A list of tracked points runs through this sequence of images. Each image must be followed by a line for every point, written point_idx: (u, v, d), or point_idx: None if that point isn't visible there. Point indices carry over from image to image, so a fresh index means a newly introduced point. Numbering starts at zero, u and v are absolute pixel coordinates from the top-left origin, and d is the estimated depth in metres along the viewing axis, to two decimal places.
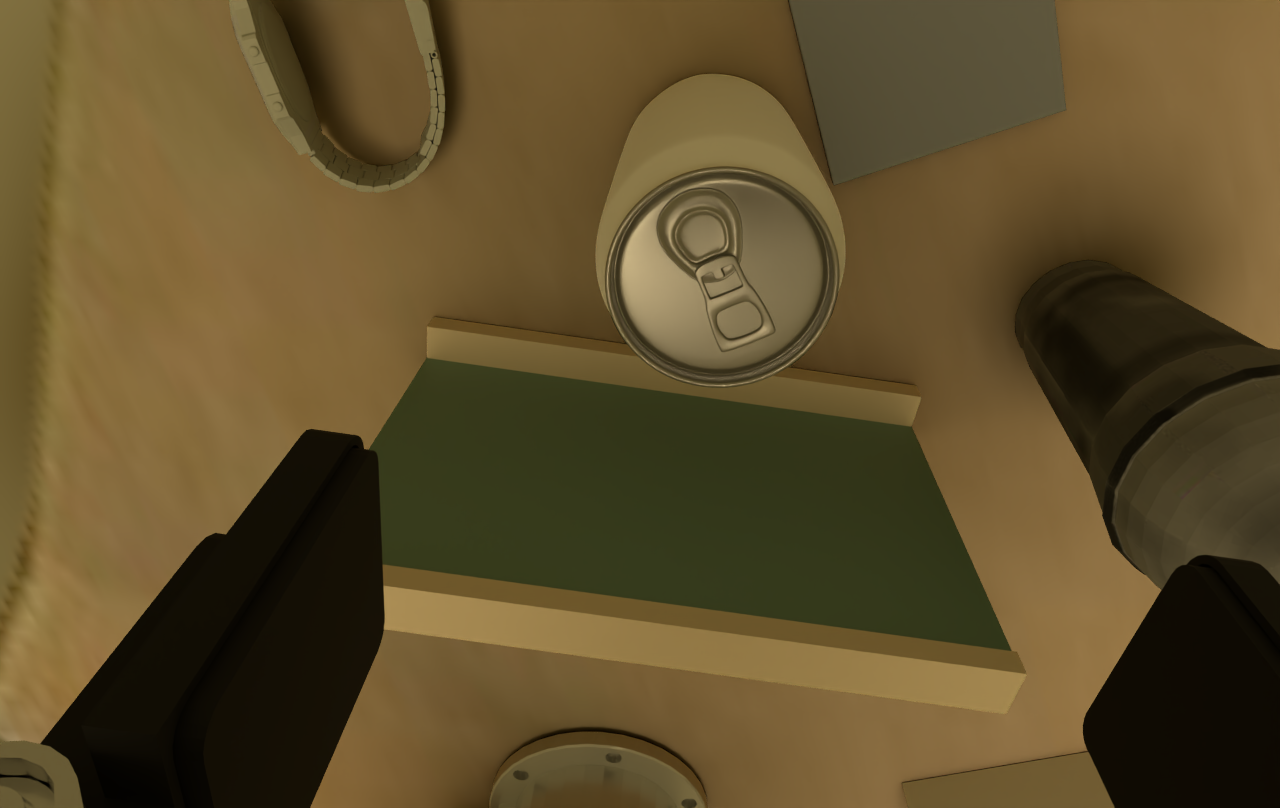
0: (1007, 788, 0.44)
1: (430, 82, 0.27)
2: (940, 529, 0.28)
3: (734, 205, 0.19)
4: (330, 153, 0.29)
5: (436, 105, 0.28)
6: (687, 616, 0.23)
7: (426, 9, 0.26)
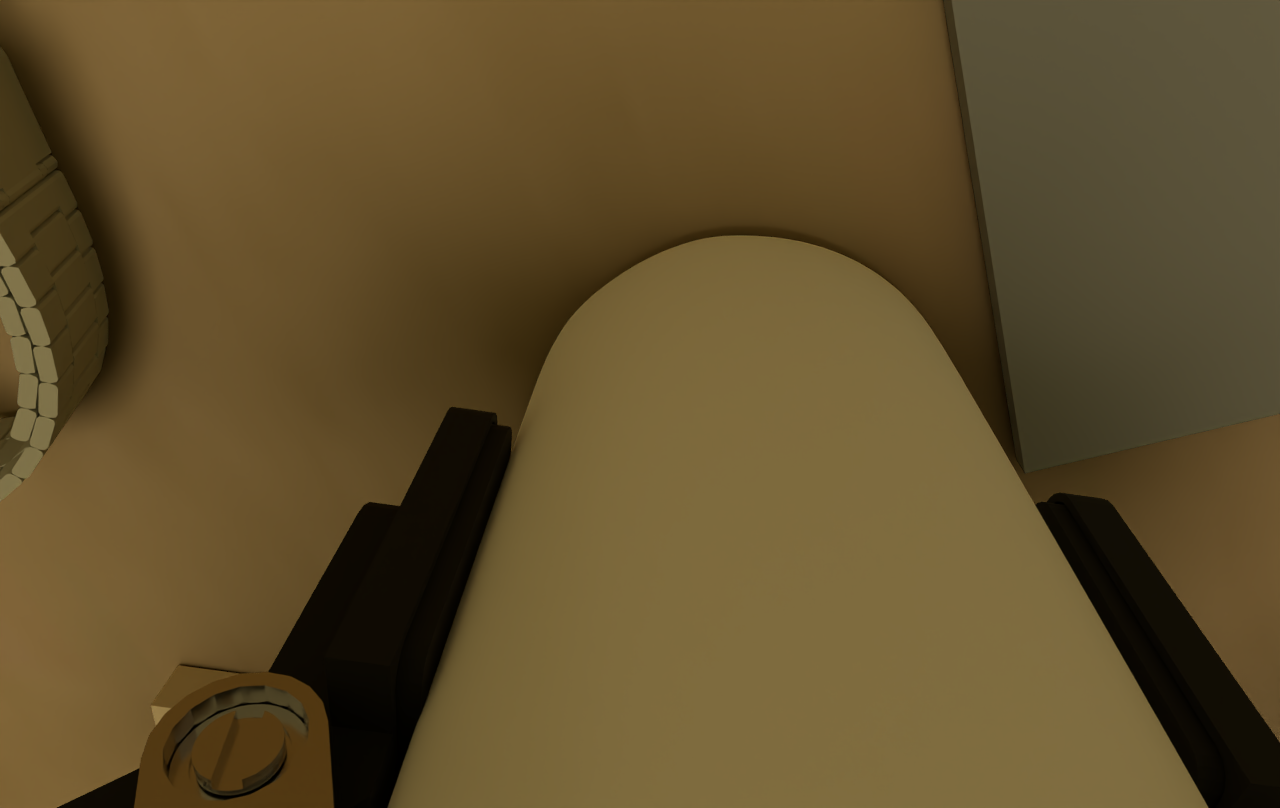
0: None
1: None
2: None
3: None
4: None
5: (22, 332, 0.11)
6: None
7: None
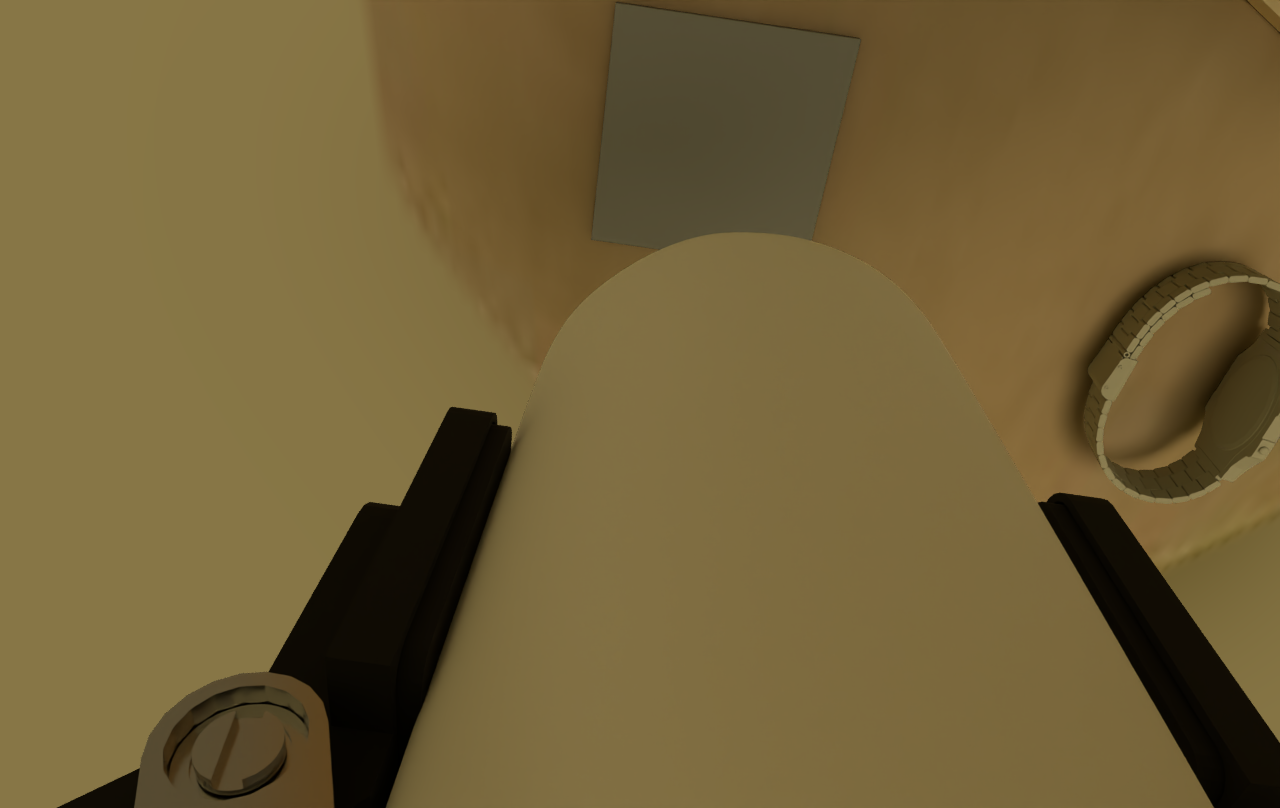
0: None
1: (1149, 338, 0.30)
2: None
3: None
4: None
5: (1160, 319, 0.29)
6: None
7: (1104, 386, 0.31)
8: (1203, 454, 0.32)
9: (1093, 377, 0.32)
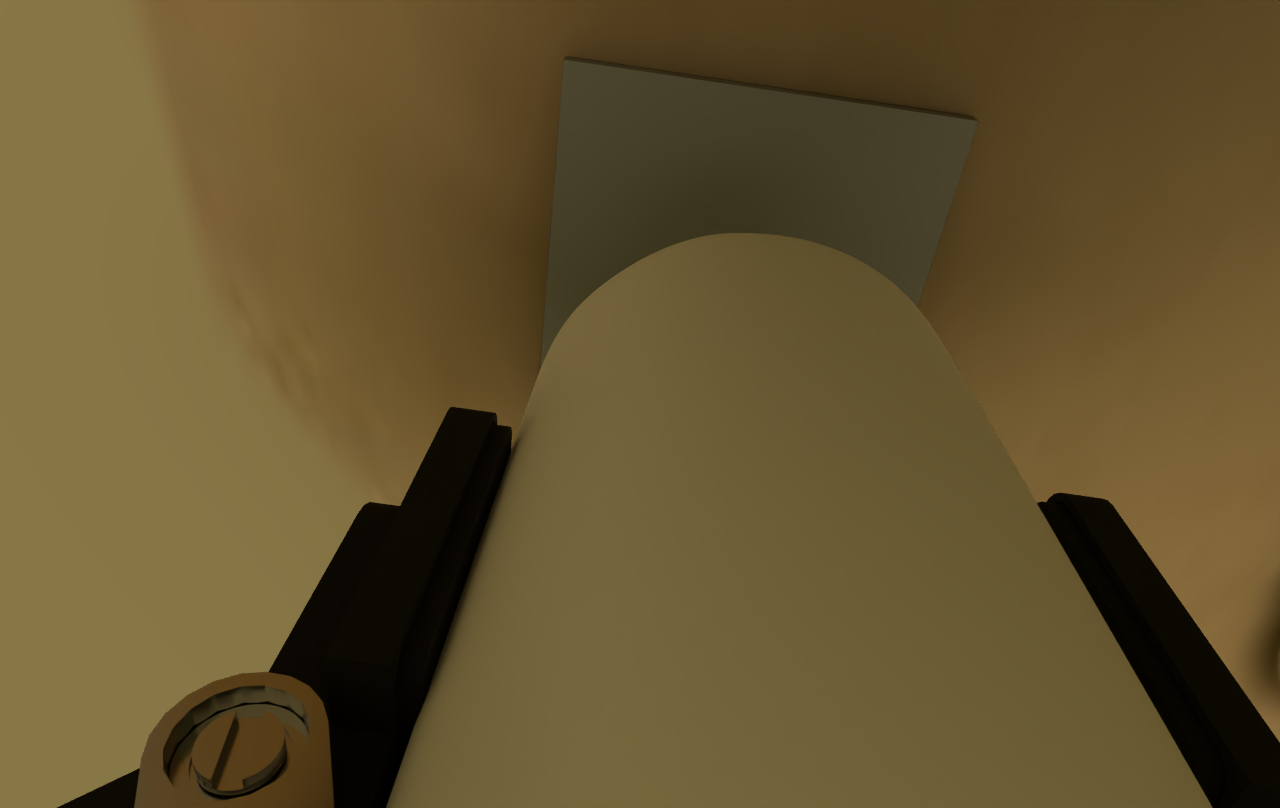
0: None
1: None
2: None
3: None
4: None
5: None
6: None
7: None
8: None
9: None
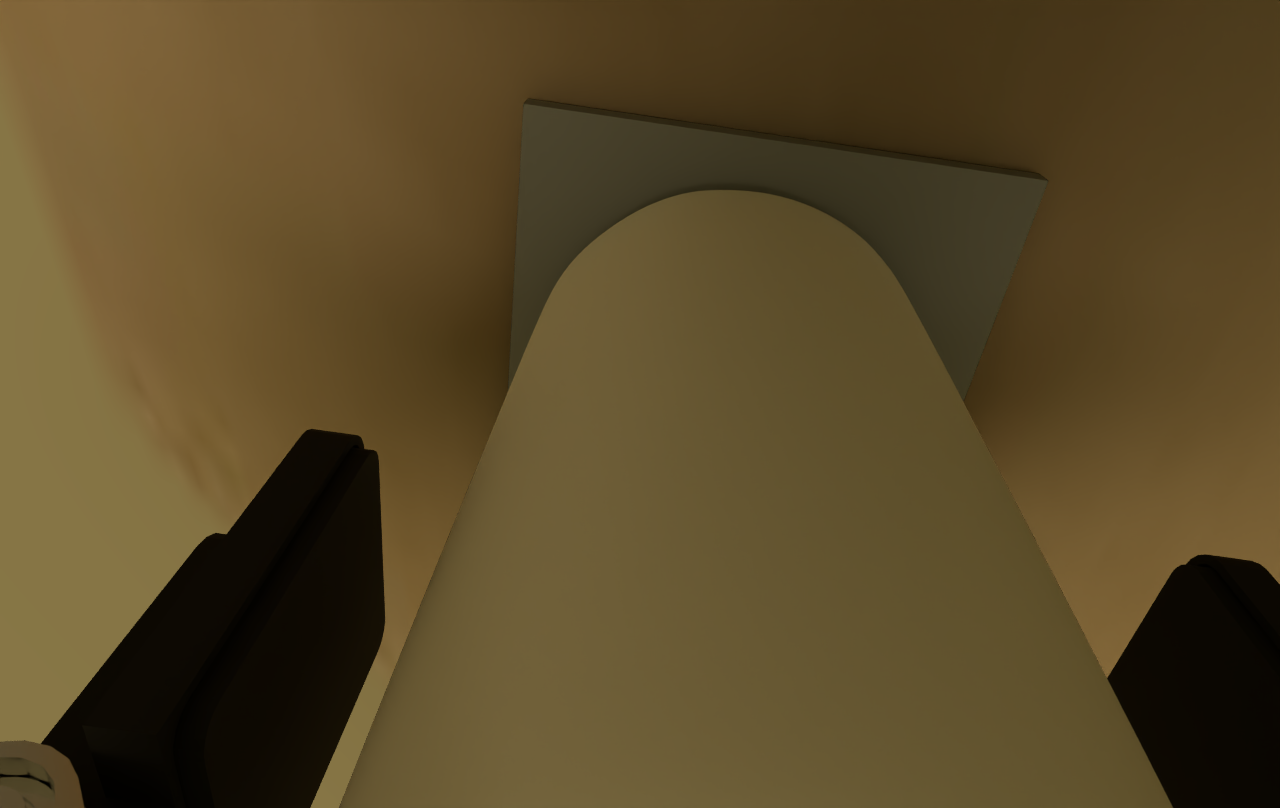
0: None
1: None
2: None
3: None
4: None
5: None
6: None
7: None
8: None
9: None
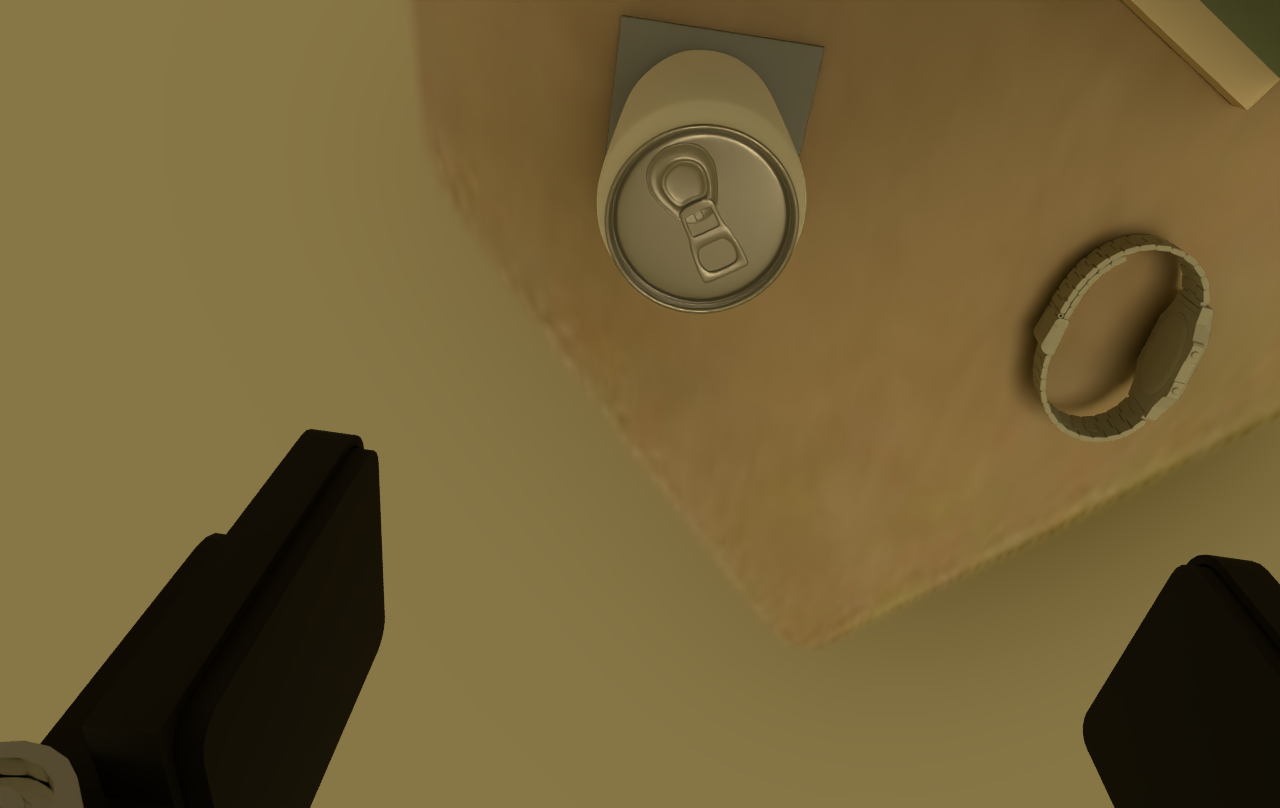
0: None
1: (1078, 300, 0.35)
2: None
3: (710, 156, 0.23)
4: (1190, 282, 0.35)
5: (1086, 284, 0.35)
6: None
7: (1043, 343, 0.36)
8: (1134, 399, 0.38)
9: (1036, 337, 0.37)
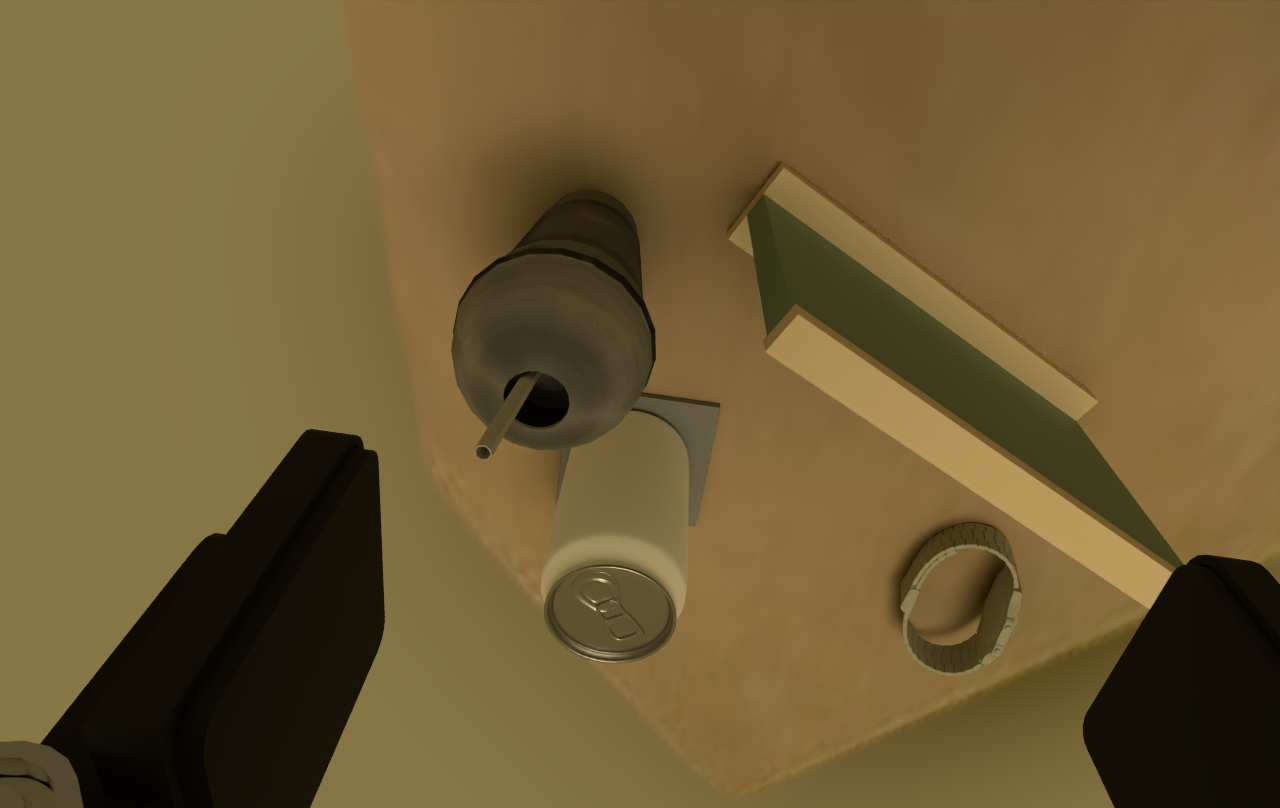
0: None
1: (924, 577, 0.46)
2: None
3: (613, 579, 0.34)
4: None
5: (929, 567, 0.46)
6: None
7: (902, 605, 0.47)
8: (978, 639, 0.48)
9: None
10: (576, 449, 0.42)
